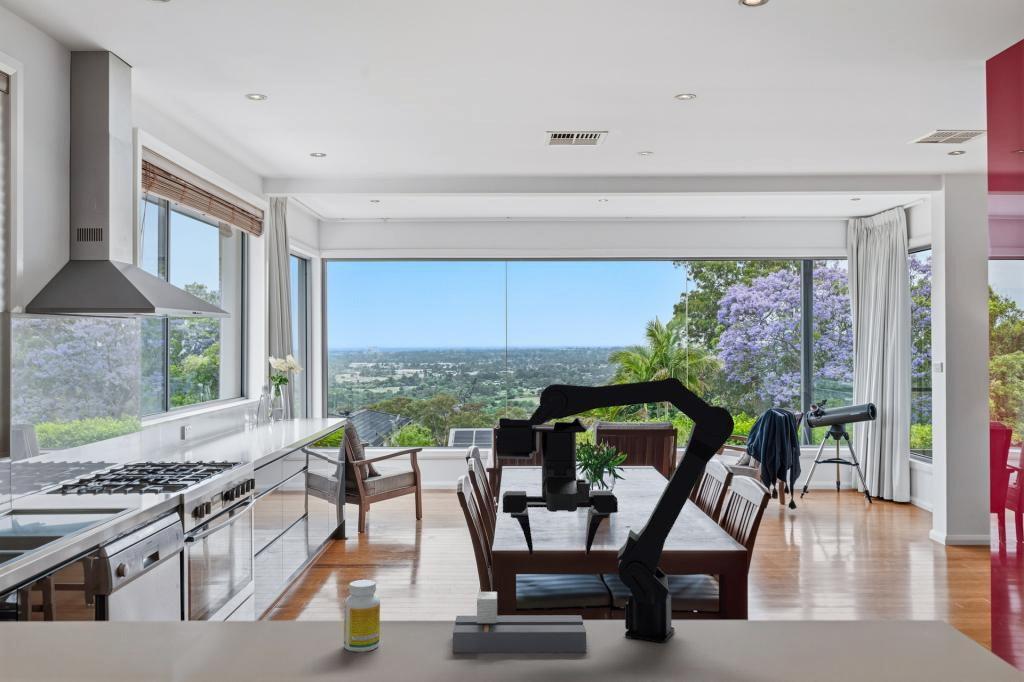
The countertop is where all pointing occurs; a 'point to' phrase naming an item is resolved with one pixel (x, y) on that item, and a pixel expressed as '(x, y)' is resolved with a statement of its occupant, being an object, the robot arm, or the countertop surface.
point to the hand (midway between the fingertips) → (559, 554)
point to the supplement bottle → (362, 617)
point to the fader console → (520, 634)
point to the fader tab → (487, 608)
